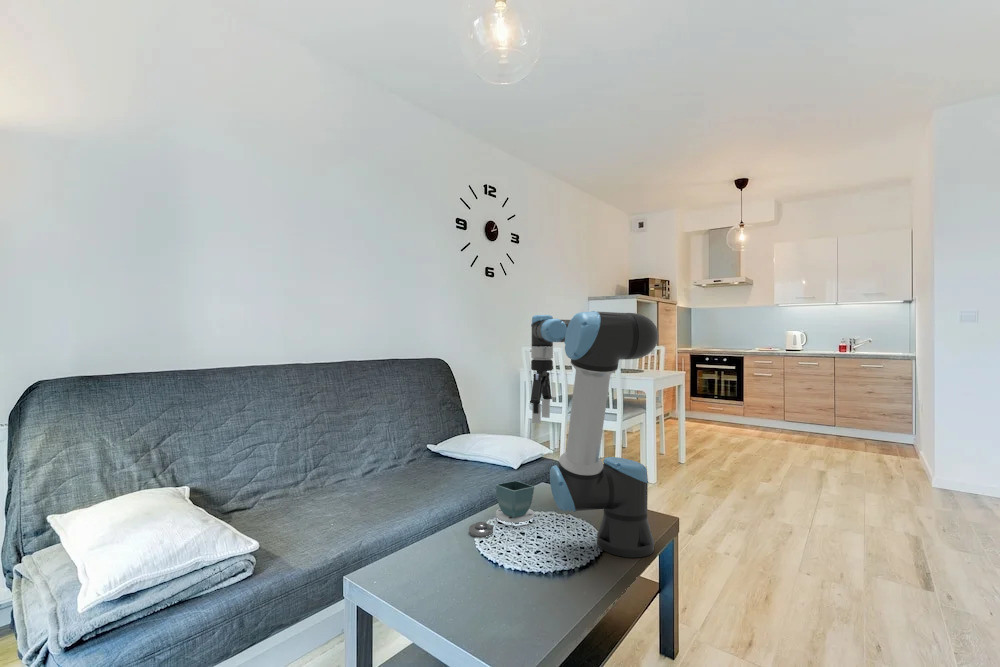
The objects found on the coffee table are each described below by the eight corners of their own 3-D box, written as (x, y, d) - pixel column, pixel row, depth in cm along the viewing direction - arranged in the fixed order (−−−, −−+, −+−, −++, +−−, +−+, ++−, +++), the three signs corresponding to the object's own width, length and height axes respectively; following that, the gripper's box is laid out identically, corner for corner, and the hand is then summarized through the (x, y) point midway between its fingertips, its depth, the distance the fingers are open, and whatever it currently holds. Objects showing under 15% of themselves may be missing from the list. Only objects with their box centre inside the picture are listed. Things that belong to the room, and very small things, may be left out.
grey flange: (538, 514, 148) (538, 508, 148) (528, 528, 136) (528, 521, 136) (502, 510, 152) (503, 503, 152) (490, 523, 140) (490, 516, 140)
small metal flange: (496, 530, 135) (496, 521, 135) (488, 539, 128) (488, 530, 128) (474, 526, 137) (474, 518, 137) (465, 535, 131) (465, 526, 131)
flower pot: (514, 507, 148) (515, 479, 149) (534, 515, 142) (535, 486, 142) (494, 513, 143) (495, 484, 143) (513, 521, 136) (514, 491, 136)
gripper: (540, 358, 173) (539, 414, 173) (521, 359, 150) (520, 424, 149) (559, 358, 171) (559, 415, 170) (544, 360, 147) (543, 426, 147)
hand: (541, 420), depth 160 cm, fingers open, 13 cm apart
